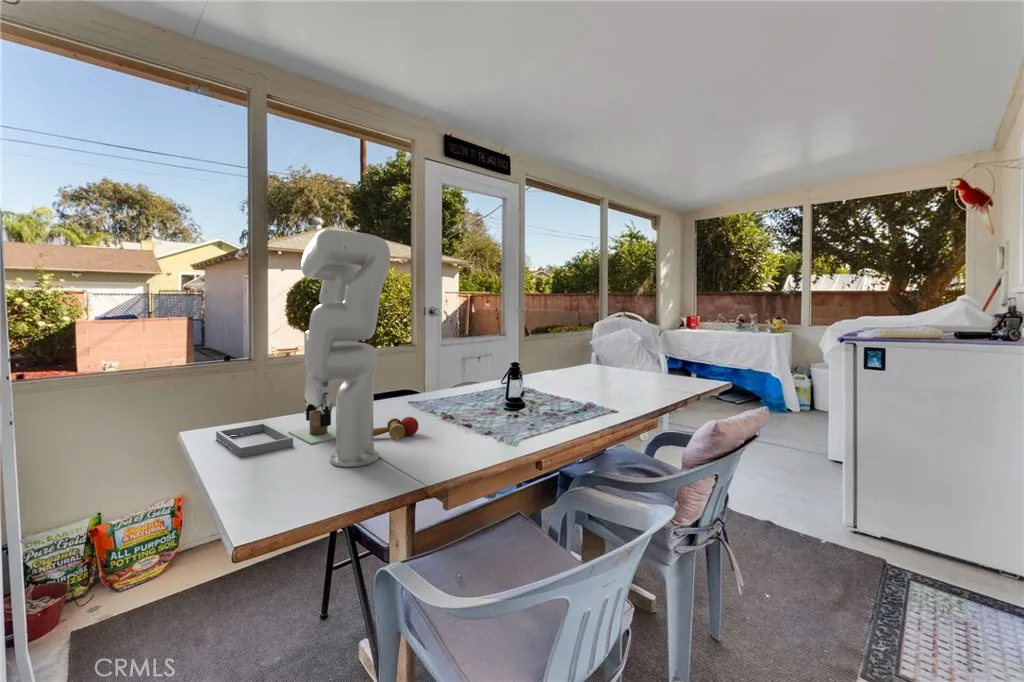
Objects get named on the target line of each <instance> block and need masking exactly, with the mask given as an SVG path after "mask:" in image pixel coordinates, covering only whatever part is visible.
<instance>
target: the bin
mask: <svg viewBox="0 0 1024 682" xmlns="http://www.w3.org/2000/svg"><path fill="white" fill-rule="evenodd" d="M261 431H264V433H265V434H267V435H269V436H270V437H271V438H272V437H273V438H274V439H275V440H270V441H265V442H260V443H256V444H251V445H245V446H243V445H242V444H240V443H238V442H237V441H236V440H234V439H232V437H230V438H229V437H228V436H231V435H241V434H247V435H249V434H248V433H252V434H256V433H255V432H258V433H262V432H261ZM241 436H242V435H241ZM215 437H216V438H217V439H219V440H220V441H221V442H223V443H224V444H226V445H227V446H228V447H230V448H231V449H232V450H233V451H235V452H236V453H237V454H238V455H237V454H236V453H235V454H236V455H237V456H239V455H240V456H244V457H247V456H246V455H249V456H252V455H251V454H253V455H257V454H256V453H258V454H262V453H261V452H263V453H267V452H271V450H272V451H275V450H276V449H277V450H280V449H285V447H286V448H291V447H294V437H292V435H290V434H287V433H285V432H283V431H281V430H279V429H277V428H275V427H274V426H272V425H270V424H267V423H266V422H263V423H262V422H261V423H256V424H251V425H250V424H249V425H245V426H238V427H233V428H225V429H221V430H216V431H215ZM216 438H215V439H216ZM217 439H216V440H217ZM221 442H220V443H221ZM290 446H291V447H290ZM228 447H227V448H228ZM232 450H231V451H232ZM233 451H232V452H233ZM240 456H239V457H240Z"/></svg>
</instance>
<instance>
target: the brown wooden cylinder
mask: <svg viewBox="0 0 1024 682" xmlns="http://www.w3.org/2000/svg"><path fill="white" fill-rule="evenodd" d="M320 414H321V411H320V409H317V410H312V411H310V412H309V416H310V420H309V427H310V435H313V436H319V435H324V434H327V433H328V426H325V427H321V426H320Z"/></svg>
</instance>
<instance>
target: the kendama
mask: <svg viewBox="0 0 1024 682" xmlns="http://www.w3.org/2000/svg"><path fill="white" fill-rule="evenodd" d="M418 429H419V422H418V420H417V418H415V417H413V416H406V417H404V418H402V420H400V419H399V418H397V417H393V418H391V419H389V420H388V421H387V424H386V426H385V427H375V428H373V438H374V437H377V436H381V435H384V434H387V433H389V434H388V435H389V436H390V438H392V439H393V440H396V439H395V438H400V439H402V438H403V437H404V436H407V437H408V436H409V437H410V436H413V435H415V434H416V433H417V432H418Z"/></svg>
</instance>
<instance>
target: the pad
mask: <svg viewBox="0 0 1024 682" xmlns="http://www.w3.org/2000/svg"><path fill="white" fill-rule="evenodd" d="M287 433H288V435H290V436H294V437H295V438H297V439H299V440H301V441H303V442H304V443H307V444H309V445H314V444H316V445H317V444H319V443H325V442H328V440H330V441H333V440H332V439H334V440H336V428H334V427H332V426H331V425H330V426H328V433H327V434H324V435H319V436H313V435H310V426H309V427H306V428H298V429H294V430H288V432H287ZM324 441H325V442H324Z"/></svg>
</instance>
